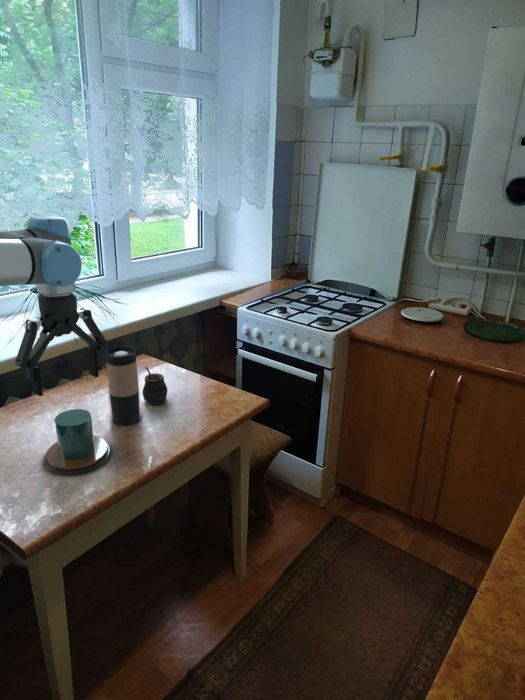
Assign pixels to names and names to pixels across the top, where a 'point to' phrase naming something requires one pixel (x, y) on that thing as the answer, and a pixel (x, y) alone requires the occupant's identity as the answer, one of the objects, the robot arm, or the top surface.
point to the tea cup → (75, 442)
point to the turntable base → (78, 471)
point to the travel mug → (123, 385)
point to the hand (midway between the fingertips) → (67, 384)
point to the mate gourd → (154, 388)
